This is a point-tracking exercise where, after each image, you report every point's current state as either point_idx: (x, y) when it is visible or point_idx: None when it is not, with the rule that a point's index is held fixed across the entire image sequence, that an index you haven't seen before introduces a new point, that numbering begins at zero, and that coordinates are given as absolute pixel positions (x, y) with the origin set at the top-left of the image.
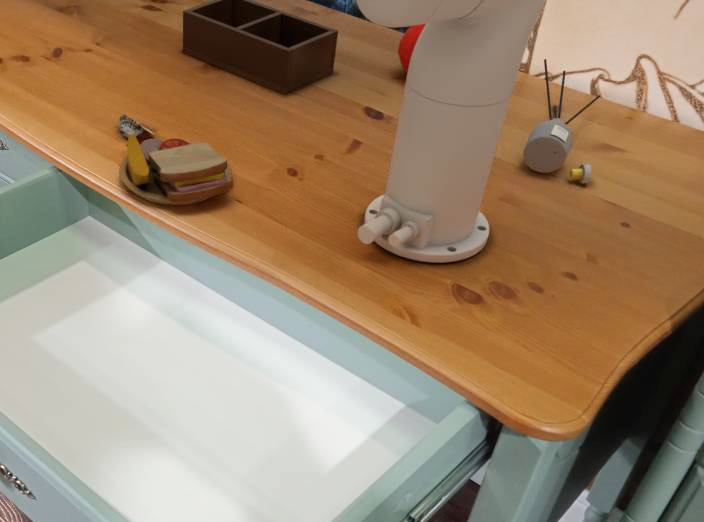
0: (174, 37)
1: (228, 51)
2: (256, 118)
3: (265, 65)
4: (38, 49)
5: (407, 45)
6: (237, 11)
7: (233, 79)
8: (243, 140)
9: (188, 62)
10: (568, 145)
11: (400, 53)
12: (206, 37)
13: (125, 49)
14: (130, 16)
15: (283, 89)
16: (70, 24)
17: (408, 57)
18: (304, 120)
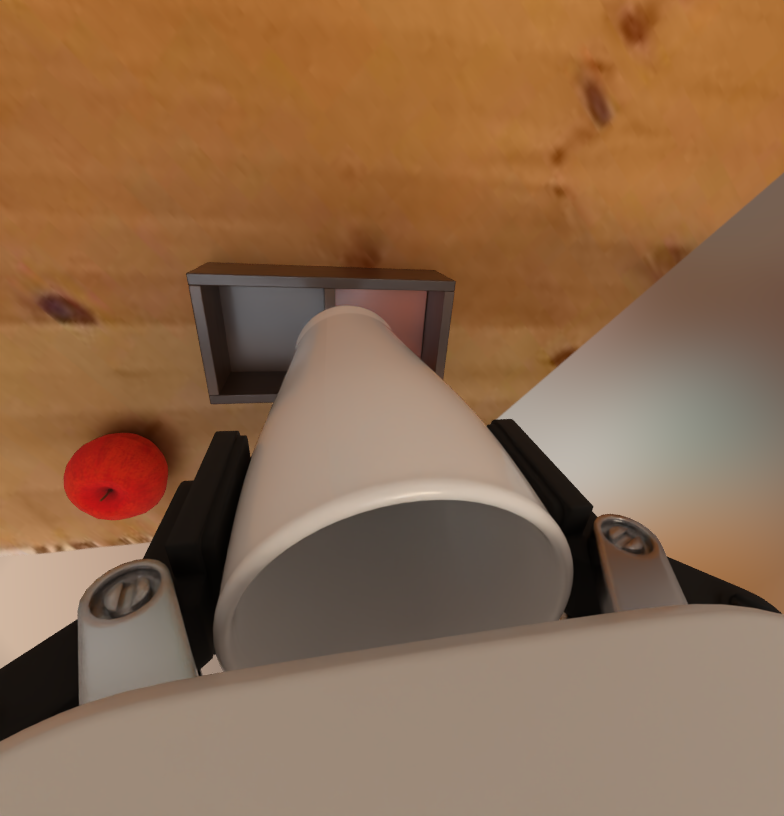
0: (480, 305)
1: (337, 271)
2: (160, 147)
3: (249, 268)
4: (633, 90)
5: (115, 448)
6: None
7: (307, 249)
8: (90, 38)
9: (404, 247)
10: None
11: (136, 441)
12: (391, 274)
13: (512, 211)
14: (576, 315)
15: (208, 263)
16: (638, 222)
17: (114, 438)
18: (105, 206)
